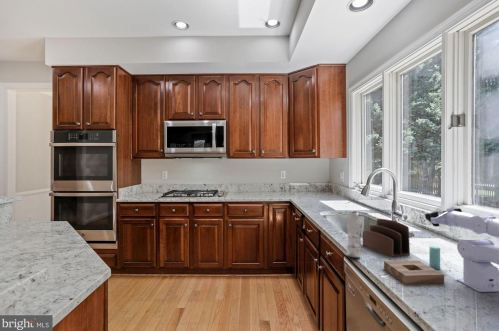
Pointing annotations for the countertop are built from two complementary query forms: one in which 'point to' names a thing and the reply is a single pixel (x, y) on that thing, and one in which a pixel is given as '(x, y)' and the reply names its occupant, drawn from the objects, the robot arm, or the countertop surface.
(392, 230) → the letter holder
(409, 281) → the socket block
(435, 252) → the peg
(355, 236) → the plastic bottle
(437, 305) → the countertop surface
